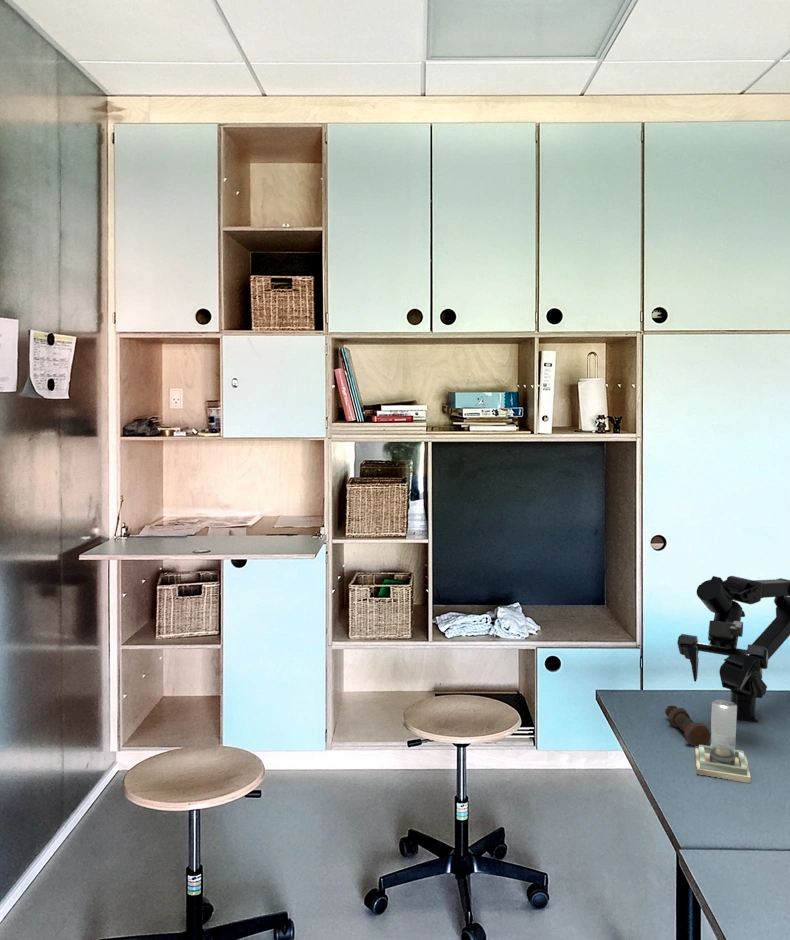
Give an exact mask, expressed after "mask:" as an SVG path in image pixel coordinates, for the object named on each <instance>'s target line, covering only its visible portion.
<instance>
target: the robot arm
mask: <svg viewBox="0 0 790 940" xmlns="http://www.w3.org/2000/svg"><path fill="white" fill-rule="evenodd" d="M696 595H697V597H698V598H699V600H700V601H701V602H702V603H703V604H704V605H705V607H706V608H707V609H708V610H709V611H710V612H711V613H713V614H714V617H713V620H709V623H708V624H709V625H708V632H707V634H708V636H707V640H708V642H709V643H706V642H701V641H699V640H698V636H697V635H691V634H685V633H680V635H679V636H678V638H677V642H676V643H677V648H678V652H679V654H680V655H682V656H684V659H686V660H689V662H690V664H691V665H690V666H691V671H692V677H693V682H697V680H698V672H699V652H704V653H709V654H715V655H721V656H722V655H723V656H726V658H724V659H723V661H724V662H723V663H722V664H721V665H720V668H719V670H718V671H719V677H720V681H721V685H722V688H724V689H728V690H730V699H729V701H730V702H733V703H735V704H736V705H737V719H736V720H738V721H747V722H755V723H759V716H758V713H757V699H763V697H764V696H765V695H766V693H767V689H768V685H767V684H766V683H765V682H764V681H763V670H766V669H768V665H769V660H770V659H771V657H772V656H773V655H774V654H775V653H776V652H777V651H778V649H780V647H781V646H782V645H783V644H784V642H785V641H786V640H787V639H788V638H789V637H790V579H786V578H782V577H780V578H776V579H757V580H755V579H754V580H752V579H748V578H744V577H739V576H736V575H729V576H727V577H726V579H725V580H723V579H722V578H721V577H720V576H715V575H712V577H711V579H707V580H706V581H705V580H704V581H703V582H702V583H700V584H699V585H698V586H697V589H696ZM763 598H764V599H765V598H774V599H773V602H774V605H775V606H776V607H775V618H774V619H773V620H772V621H771V622H770V624H768V625H767V627H766V628H765V629H764V630H763V631H762V632H761V634H759V636H757V638H756V639H755V640H754V641H753V642H752V643H750V644H748V645H747V647H746V649H743V648H738V641H739V638H742V637H743V634H744V632H743V631H744V621H741V620H742V618H745V617H746V614H745V611H744V610H743V607H742V605H741V604H740V603H743V604H745V605H746V604H747V605H755V604H758V603H759V602H761V600H762V599H763Z"/></svg>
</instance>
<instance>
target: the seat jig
mask: <svg viewBox="0 0 790 940" xmlns="http://www.w3.org/2000/svg"><path fill="white" fill-rule="evenodd" d="M694 749H695V751H694V752H695V753H694V754H695V755H696V756H695V765H696V766H695V767H697V769H696V775H697V774H699V775H698V776H701V775H707V776H706V777H708V776H711V777H710V778H714V777H717V778H716V779H720V778H722V779H723V780H727V779H728V781H734V782H741V783H747V784H751V779H752V778H751V773H750V769H749V763H748V758H747V756H746V754H745V753H744V750H739V749H735V765H734V766H733V765H726V764H719V763H713V762H710V760H709V757H710V745H699V747H695V748H694Z"/></svg>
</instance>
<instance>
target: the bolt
mask: <svg viewBox="0 0 790 940" xmlns="http://www.w3.org/2000/svg"><path fill="white" fill-rule="evenodd" d="M664 712H665V715H666V716H667V719H668V721H669V723H670V724H671V726H673V728H675V727H679V728H678V729H681V731H682V732H684V733H683V736H684V737H685V739H686V740H687V742H688V744H689V743H690V744H691V745H692V746H691V745H690V744H689V745H690V746H691V747H694V746H699V745H706V746H708V744H709V743H710V739H711V730H710V729H709V728H708V726H707V724H705V722H695V721H693V720H692V719H691V716H690V715H689V713H688V711H687V710H686V709H685V708H684V707H677V706H675V705H667V706H666V708H665V710H664Z"/></svg>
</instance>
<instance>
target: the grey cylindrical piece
mask: <svg viewBox="0 0 790 940" xmlns="http://www.w3.org/2000/svg"><path fill="white" fill-rule="evenodd" d="M710 714H711V716H710V717H711V718H710V719H711V720H710V733H711V739H710V741H709V743H710V744H709V746H710V757H709V760H710V762H713V763H719V764H726V765H733V766H734V765H735V750H736V744H737V743H736V741H737V740H736V739H737V736H736V735H737V720H738V719H737V705H736V704H735V703H733V702H730V700H725V699H715V700H712V701H711V713H710Z"/></svg>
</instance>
